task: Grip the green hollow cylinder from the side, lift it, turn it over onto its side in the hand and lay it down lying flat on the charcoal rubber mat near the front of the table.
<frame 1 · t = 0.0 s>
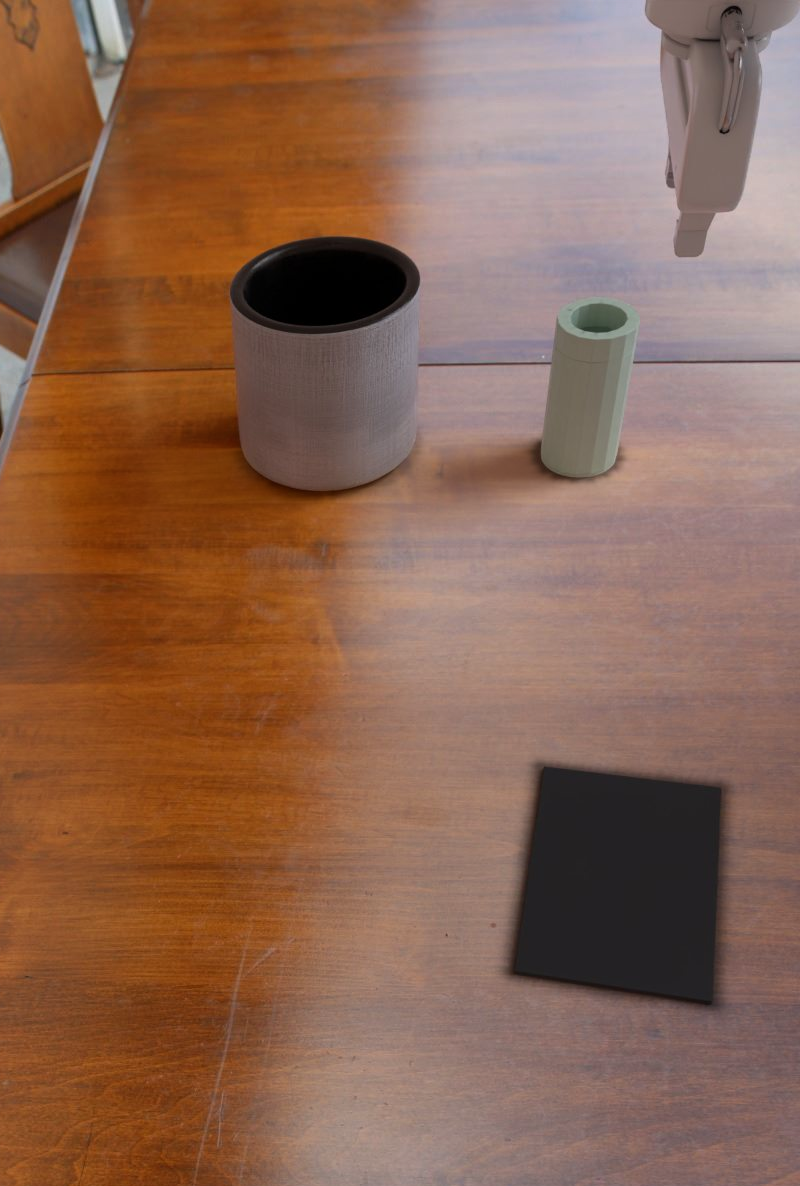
hand: (682, 216, 89), 26 cm above the table, tool pointing down, fingers open, 8 cm apart
green hollow cylinder: (577, 458, 117), on the table
planter: (328, 448, 122), on the table
mat: (620, 880, 88), on the table
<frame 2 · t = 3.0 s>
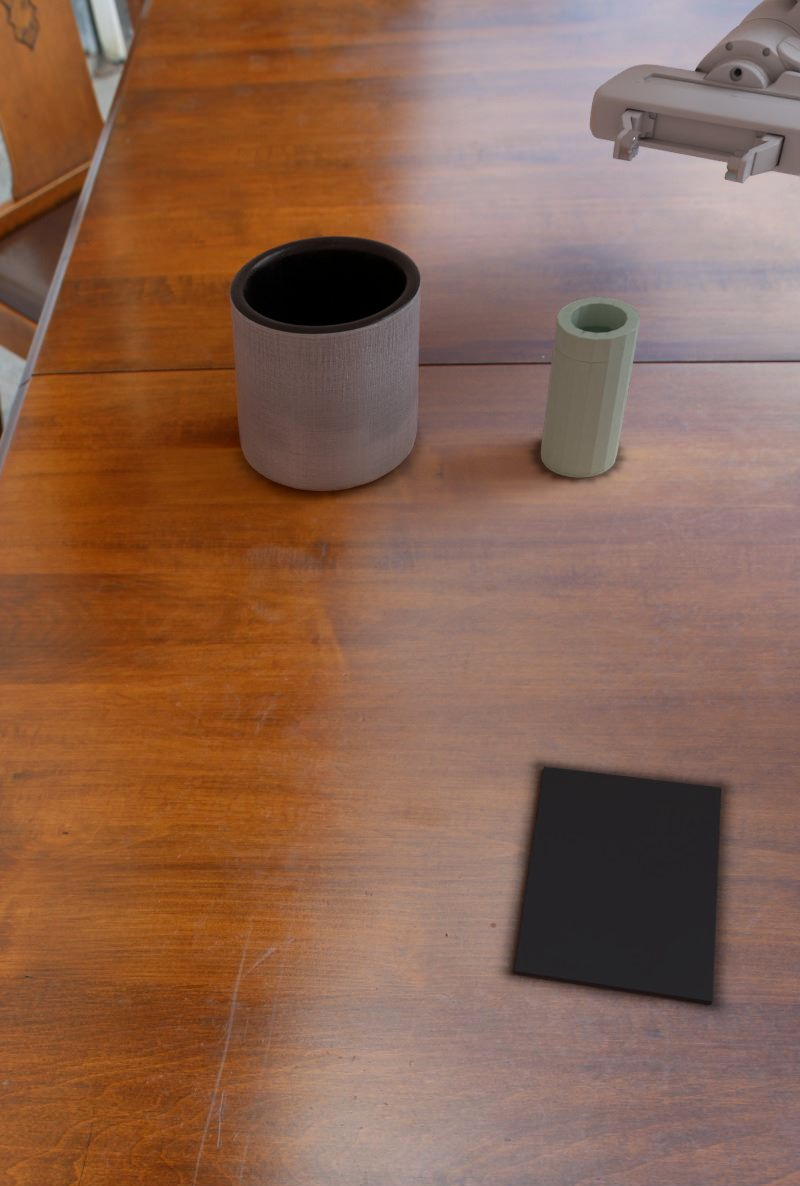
hand: (677, 161, 106), 20 cm above the table, tool horizontal, fingers open, 8 cm apart
nothing on the table moved.
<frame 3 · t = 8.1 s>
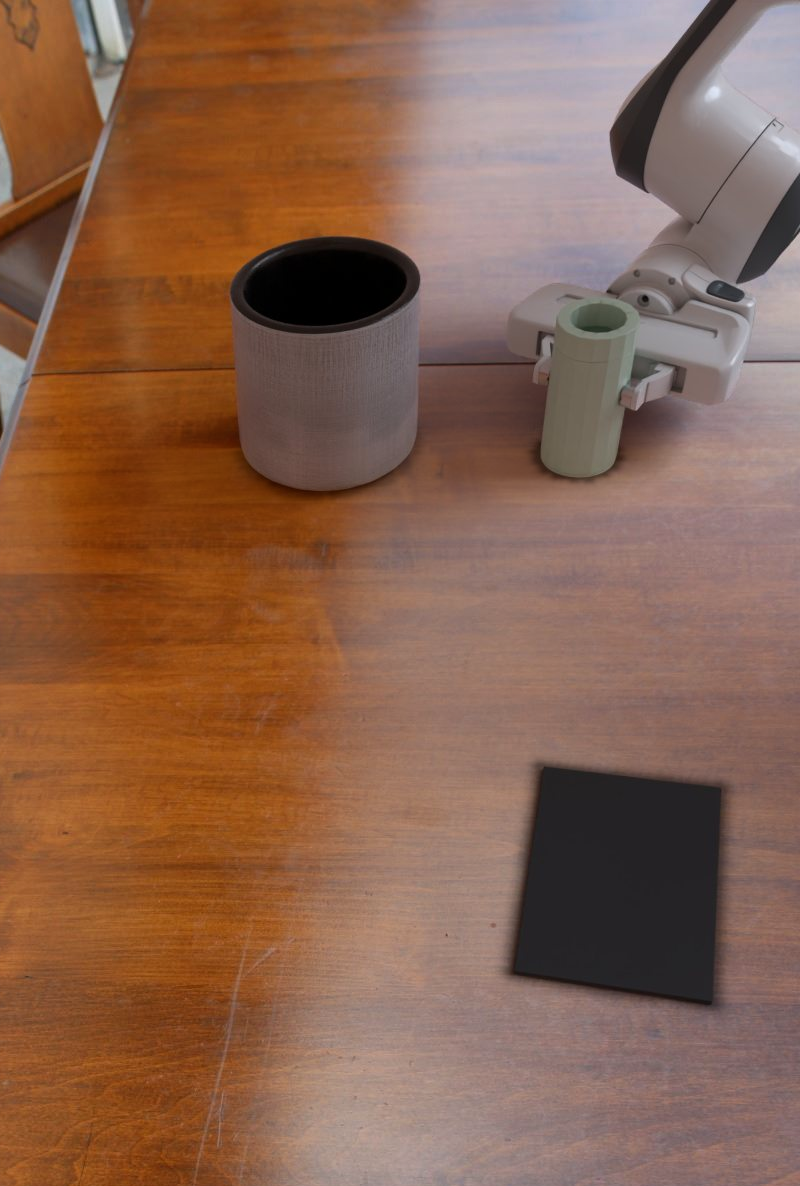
hand: (584, 389, 111), 7 cm above the table, tool horizontal, fingers closed on green hollow cylinder, 6 cm apart
green hollow cylinder: (577, 458, 117), on the table, touching gripper
everything else where it was.
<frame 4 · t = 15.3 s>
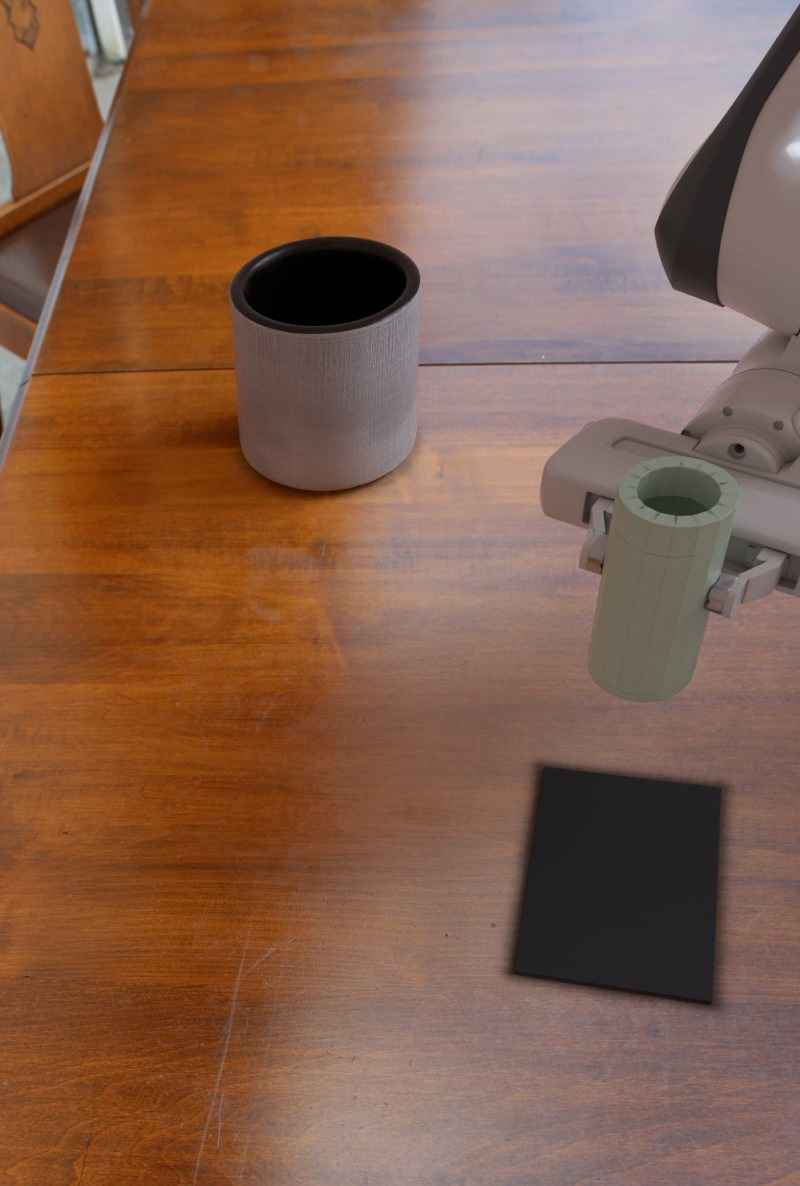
hand: (654, 583, 77), 19 cm above the table, tool horizontal, fingers closed on green hollow cylinder, 6 cm apart
green hollow cylinder: (639, 666, 83), point 12 cm above the table, touching gripper
everything else where it was.
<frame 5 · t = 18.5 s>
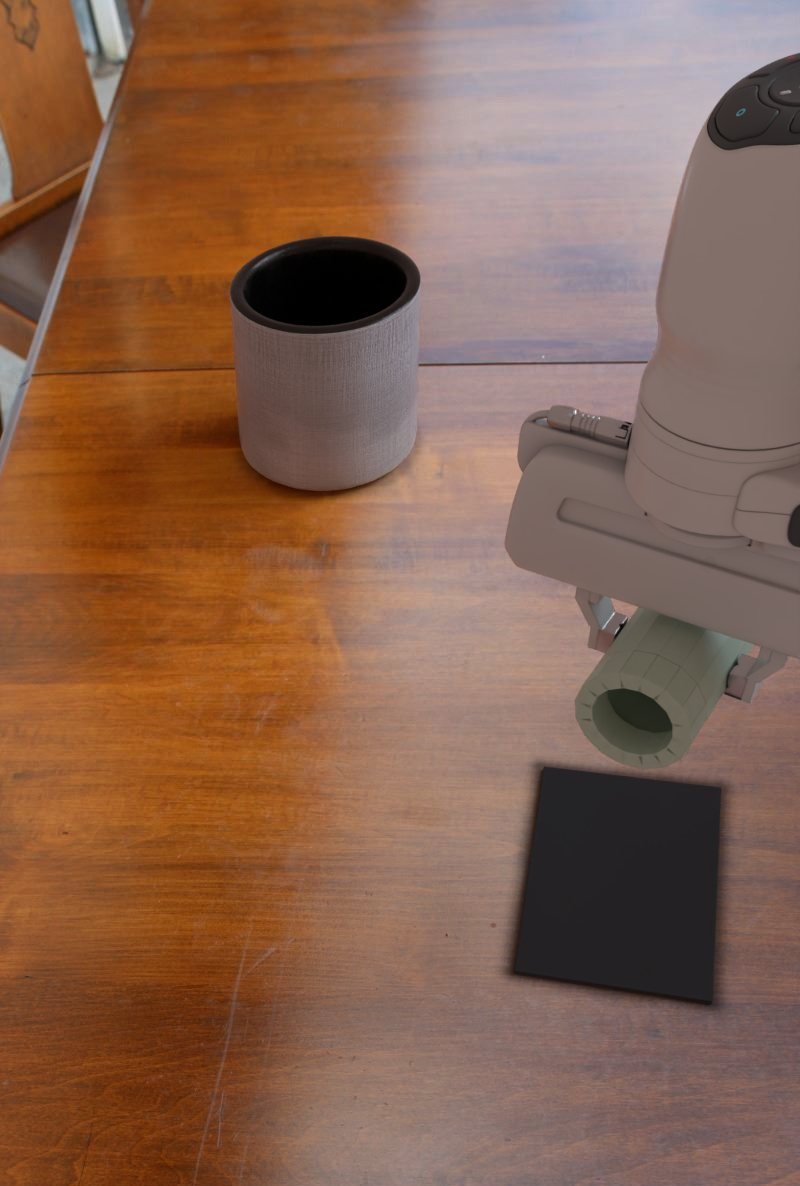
hand: (672, 668, 74), 19 cm above the table, tool pointing down, fingers closed on green hollow cylinder, 6 cm apart
green hollow cylinder: (726, 581, 76), point 20 cm above the table, tilted 90°, touching gripper
everything else where it was.
when the fingers open (3 cm above the table, at t = 22.5 s): green hollow cylinder stays where it is and tips over, resting on mat.
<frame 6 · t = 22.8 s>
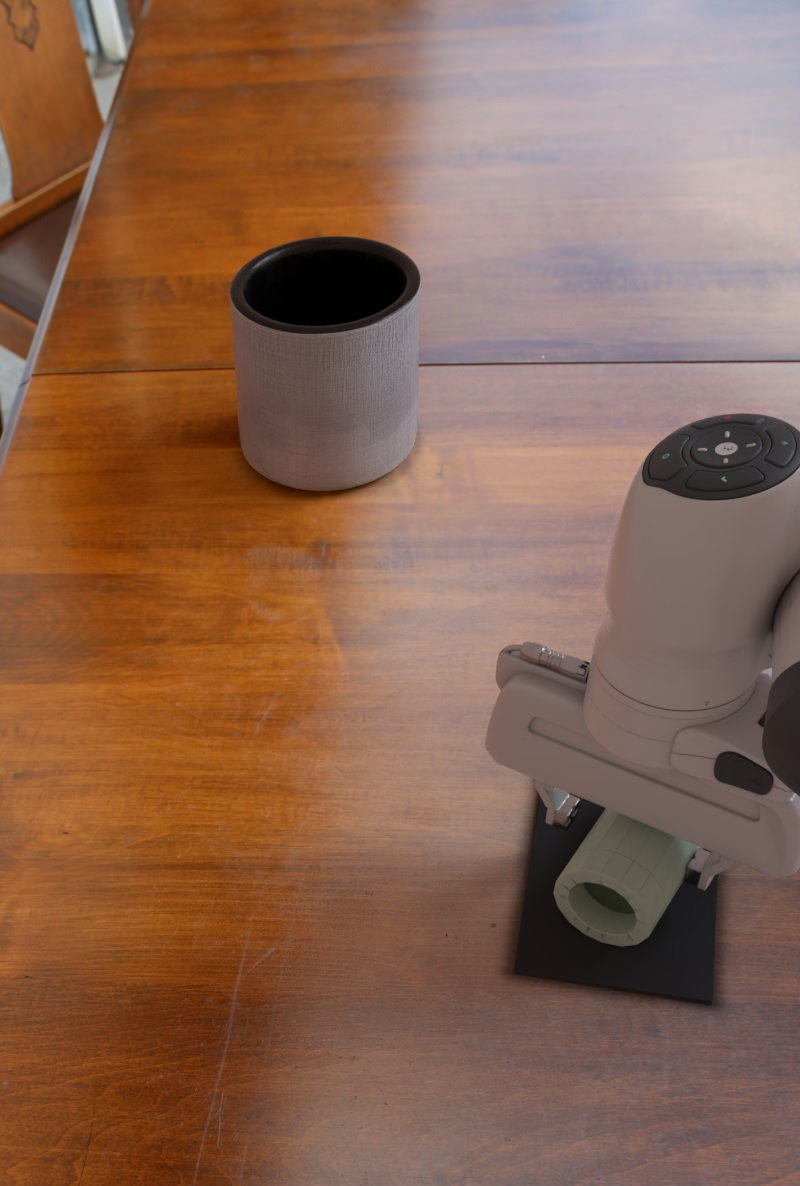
hand: (628, 849, 86), 3 cm above the table, tool pointing down, fingers open, 8 cm apart
green hollow cylinder: (688, 776, 88), point 4 cm above the table, tilted 90°, touching gripper, mat
everything else where it was.
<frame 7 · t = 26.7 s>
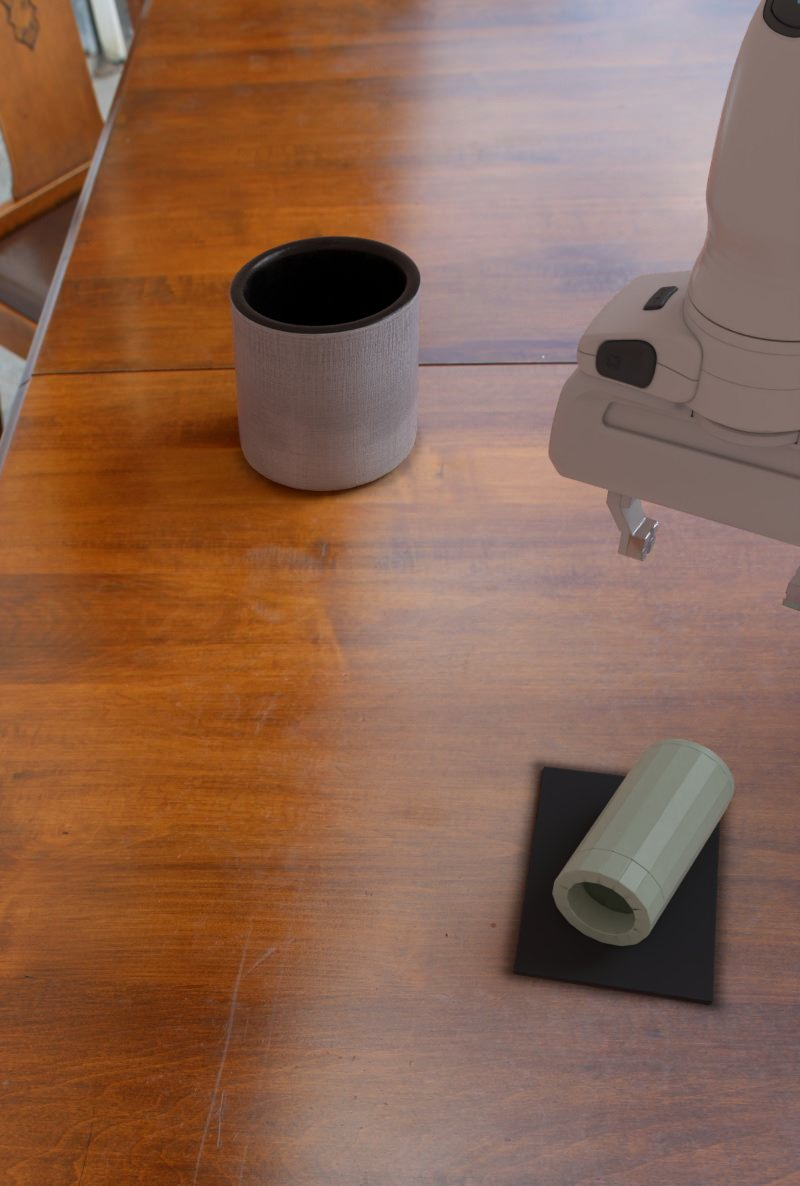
hand: (715, 577, 74), 21 cm above the table, tool pointing down, fingers open, 8 cm apart
green hollow cylinder: (686, 776, 88), point 4 cm above the table, tilted 90°, touching mat
everything else where it was.
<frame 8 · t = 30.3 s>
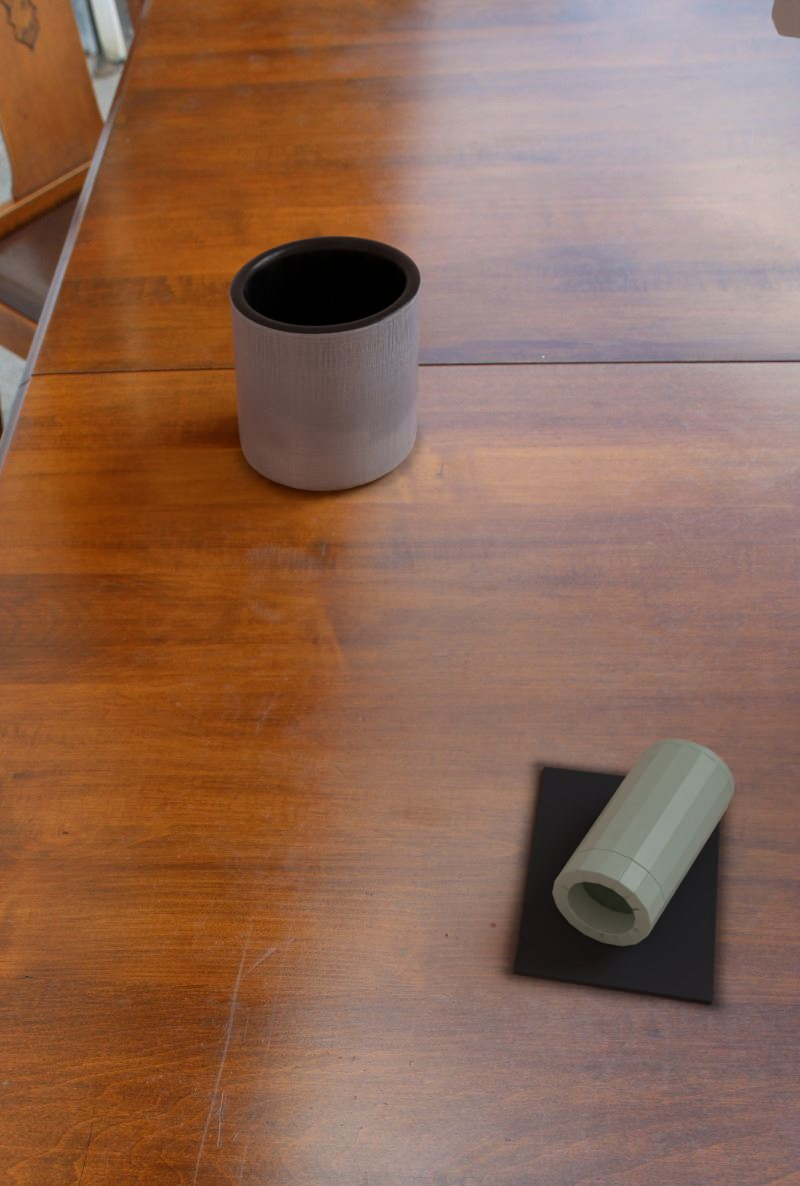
nothing on the table moved.
at the end: green hollow cylinder tilted 90°; green hollow cylinder 7.3 cm from the mat (horizontally); the gripper is holding nothing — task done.
